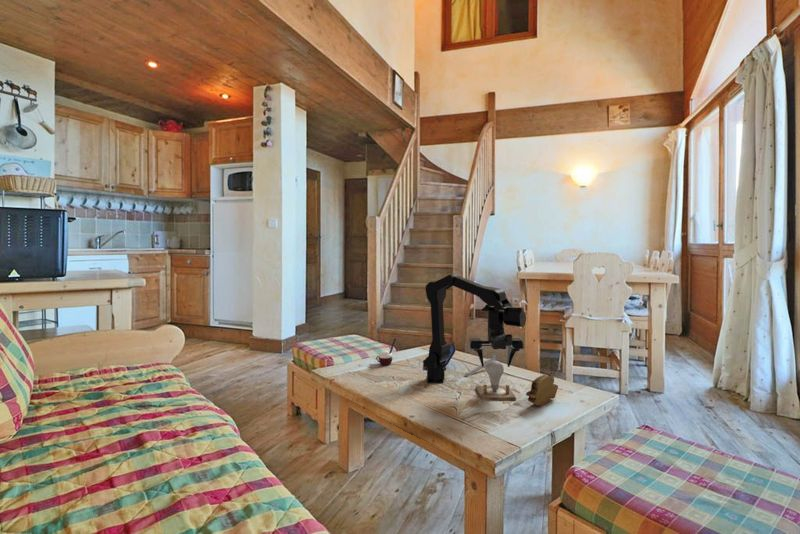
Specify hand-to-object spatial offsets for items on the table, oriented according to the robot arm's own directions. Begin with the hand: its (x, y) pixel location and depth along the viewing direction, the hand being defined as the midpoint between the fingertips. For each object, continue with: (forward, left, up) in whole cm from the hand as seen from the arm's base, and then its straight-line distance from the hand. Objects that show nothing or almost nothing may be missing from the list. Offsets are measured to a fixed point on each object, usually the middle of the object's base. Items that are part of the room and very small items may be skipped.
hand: (495, 366), depth 153 cm
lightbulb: (0, 0, -9) cm, 9 cm away
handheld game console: (-18, +36, -10) cm, 41 cm away
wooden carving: (+14, -9, -10) cm, 20 cm away
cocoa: (-42, +37, -10) cm, 57 cm away
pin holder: (0, 0, -10) cm, 10 cm away
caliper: (-1, +27, -10) cm, 29 cm away
